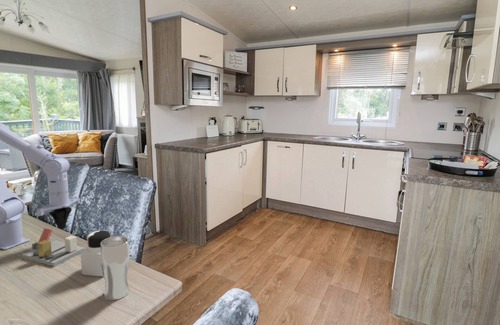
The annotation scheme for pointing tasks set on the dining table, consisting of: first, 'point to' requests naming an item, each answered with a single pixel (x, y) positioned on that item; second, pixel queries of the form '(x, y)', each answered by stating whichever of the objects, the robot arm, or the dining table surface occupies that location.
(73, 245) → the white slider
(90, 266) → the medicine bottle
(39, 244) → the brass slider
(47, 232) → the red paddle
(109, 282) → the beer glass
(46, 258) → the panel
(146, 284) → the dining table surface
